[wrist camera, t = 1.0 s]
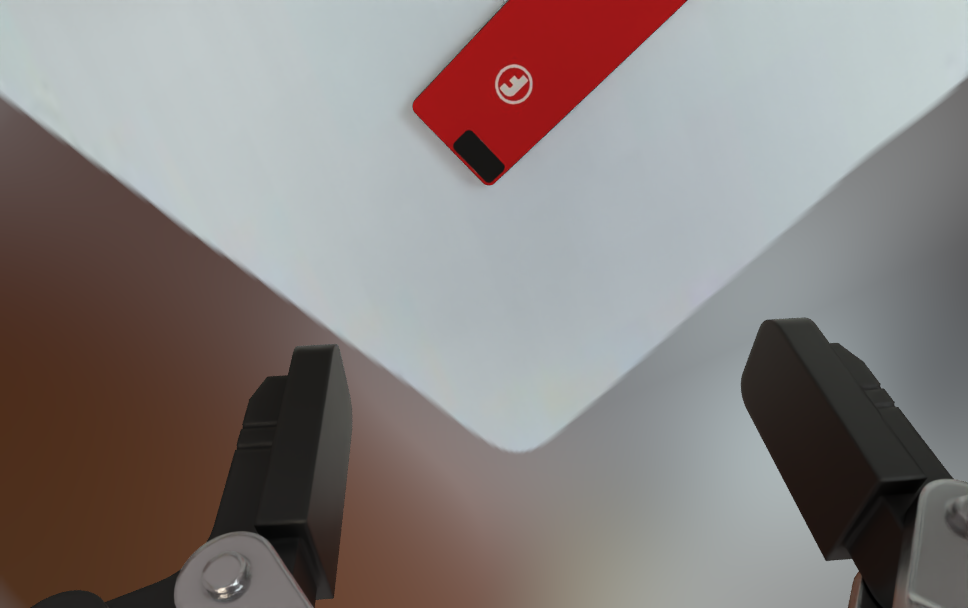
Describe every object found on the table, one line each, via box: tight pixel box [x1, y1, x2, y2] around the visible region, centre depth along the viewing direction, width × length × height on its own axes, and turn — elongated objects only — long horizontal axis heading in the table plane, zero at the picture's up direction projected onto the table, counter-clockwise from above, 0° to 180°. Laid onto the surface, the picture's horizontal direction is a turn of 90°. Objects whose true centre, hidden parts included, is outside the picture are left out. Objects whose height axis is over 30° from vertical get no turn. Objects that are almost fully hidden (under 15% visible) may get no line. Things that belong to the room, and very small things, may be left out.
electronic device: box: [413, 0, 687, 185], centre depth 30 cm, size 6×1×15 cm
